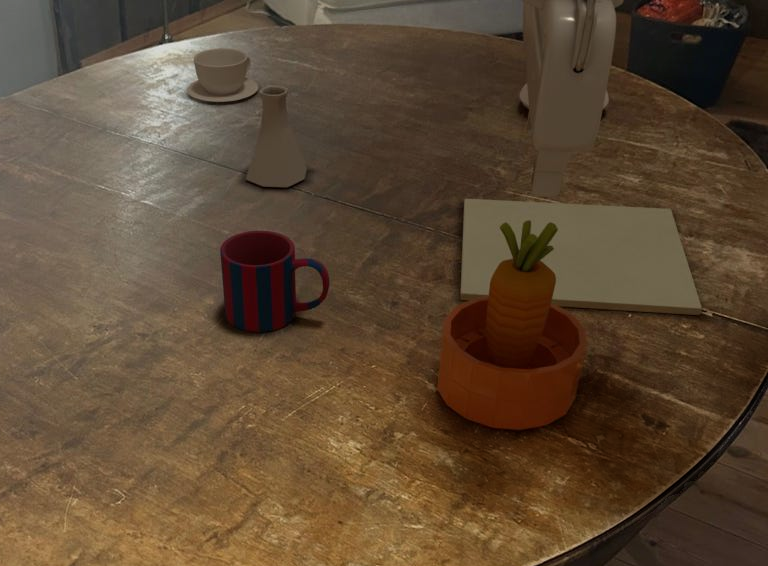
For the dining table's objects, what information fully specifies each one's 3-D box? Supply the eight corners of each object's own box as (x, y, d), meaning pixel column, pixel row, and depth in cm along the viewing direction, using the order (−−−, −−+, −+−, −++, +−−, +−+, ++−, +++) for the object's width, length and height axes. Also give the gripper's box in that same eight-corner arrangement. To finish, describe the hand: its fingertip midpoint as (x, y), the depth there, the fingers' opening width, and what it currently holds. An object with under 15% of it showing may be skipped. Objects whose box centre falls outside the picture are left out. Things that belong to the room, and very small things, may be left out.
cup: (245, 288, 91) (241, 224, 86) (339, 310, 88) (340, 245, 83) (212, 323, 87) (206, 257, 82) (310, 347, 83) (309, 280, 79)
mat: (669, 215, 100) (671, 208, 100) (699, 315, 86) (702, 308, 85) (463, 204, 103) (464, 198, 103) (459, 300, 89) (460, 293, 88)
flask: (316, 168, 111) (316, 83, 104) (291, 194, 106) (289, 106, 99) (262, 159, 113) (259, 75, 106) (235, 183, 108) (229, 96, 102)
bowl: (568, 358, 81) (581, 298, 77) (577, 439, 73) (592, 378, 69) (439, 349, 83) (446, 290, 79) (434, 428, 75) (441, 367, 71)
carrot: (462, 386, 78) (484, 221, 68) (500, 362, 80) (526, 199, 70) (510, 412, 75) (540, 245, 65) (547, 387, 77) (582, 221, 67)
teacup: (217, 111, 125) (215, 75, 122) (173, 92, 130) (169, 57, 127) (273, 91, 130) (272, 56, 126) (227, 73, 135) (225, 40, 132)
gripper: (659, -12, 47) (601, 236, 57) (618, -99, 62) (577, 109, 71) (533, -15, 48) (496, 230, 57) (522, -101, 63) (494, 105, 72)
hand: (541, 162), depth 64 cm, fingers open, 8 cm apart
